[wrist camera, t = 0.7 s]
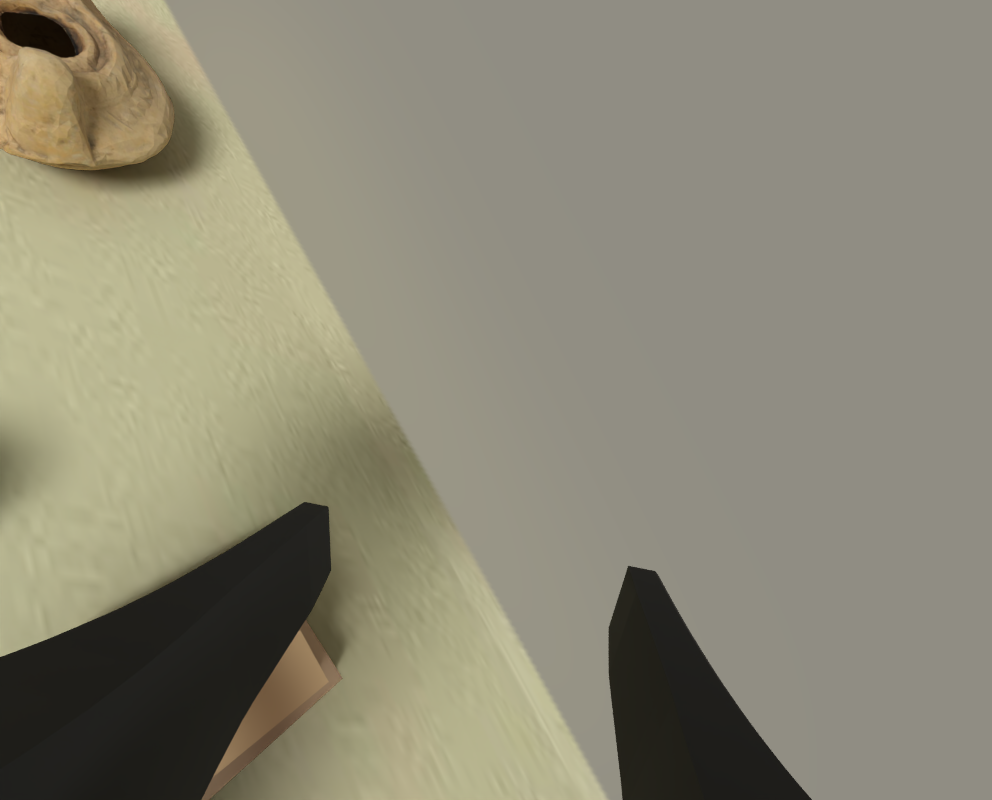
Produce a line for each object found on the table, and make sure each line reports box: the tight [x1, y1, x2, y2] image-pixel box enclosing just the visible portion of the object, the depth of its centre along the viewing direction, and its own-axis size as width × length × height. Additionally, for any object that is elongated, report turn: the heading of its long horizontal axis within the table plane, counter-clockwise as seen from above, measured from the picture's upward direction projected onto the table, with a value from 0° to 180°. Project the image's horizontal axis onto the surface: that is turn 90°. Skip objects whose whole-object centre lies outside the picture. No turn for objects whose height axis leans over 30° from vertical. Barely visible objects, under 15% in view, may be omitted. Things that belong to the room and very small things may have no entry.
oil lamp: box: [0, 0, 175, 170], centre depth 26 cm, size 11×15×8 cm
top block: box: [213, 630, 329, 777], centre depth 20 cm, size 6×6×2 cm
